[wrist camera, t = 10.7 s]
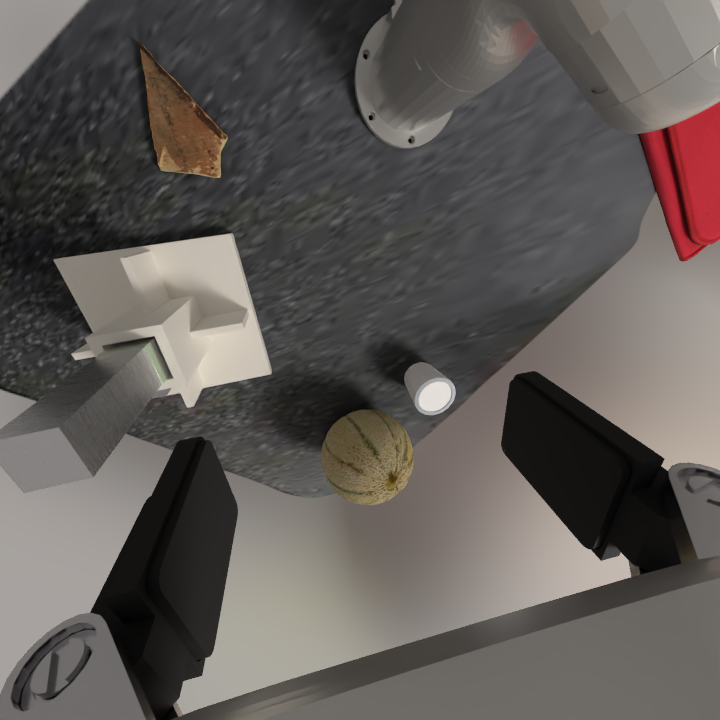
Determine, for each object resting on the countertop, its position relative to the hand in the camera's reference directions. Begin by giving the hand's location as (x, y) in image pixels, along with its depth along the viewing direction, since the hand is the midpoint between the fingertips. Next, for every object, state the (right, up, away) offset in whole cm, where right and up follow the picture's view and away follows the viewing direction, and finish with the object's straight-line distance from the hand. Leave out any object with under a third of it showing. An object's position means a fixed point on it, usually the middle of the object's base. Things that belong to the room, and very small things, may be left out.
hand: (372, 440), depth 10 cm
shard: (-21, +28, +26) cm, 44 cm away
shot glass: (+10, 0, +46) cm, 47 cm away
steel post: (-23, +4, +25) cm, 34 cm away
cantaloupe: (-1, -10, +48) cm, 49 cm away
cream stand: (-25, +8, +33) cm, 43 cm away
